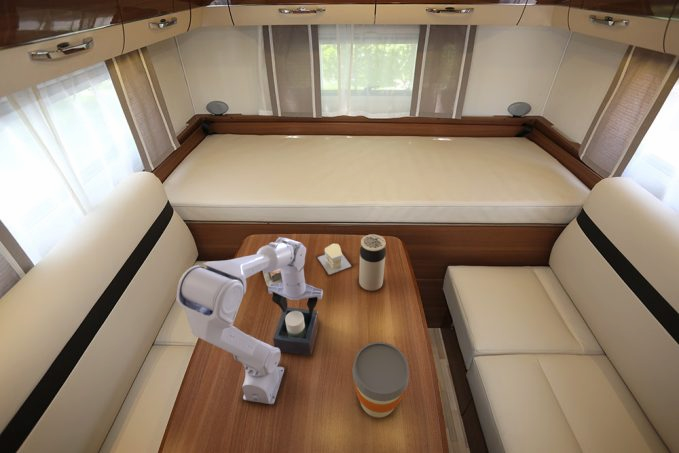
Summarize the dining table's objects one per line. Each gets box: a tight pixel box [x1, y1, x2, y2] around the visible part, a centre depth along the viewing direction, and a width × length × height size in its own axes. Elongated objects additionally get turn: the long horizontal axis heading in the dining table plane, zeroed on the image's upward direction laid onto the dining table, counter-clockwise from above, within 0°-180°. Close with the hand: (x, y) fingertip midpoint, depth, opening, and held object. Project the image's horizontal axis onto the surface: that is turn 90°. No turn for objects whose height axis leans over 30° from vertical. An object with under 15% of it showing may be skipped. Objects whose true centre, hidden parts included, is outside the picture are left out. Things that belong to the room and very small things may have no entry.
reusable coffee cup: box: [352, 341, 410, 418], centre depth 77 cm, size 13×13×15 cm
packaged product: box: [260, 244, 283, 289], centre depth 117 cm, size 18×5×10 cm
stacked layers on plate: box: [317, 243, 352, 276], centre depth 119 cm, size 10×9×6 cm
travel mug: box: [358, 233, 387, 292], centre depth 107 cm, size 8×8×18 cm
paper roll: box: [285, 311, 306, 339], centre depth 93 cm, size 9×5×5 cm
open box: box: [272, 306, 320, 357], centre depth 94 cm, size 11×10×6 cm
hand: (298, 311), depth 94 cm, fingers open, 7 cm apart
